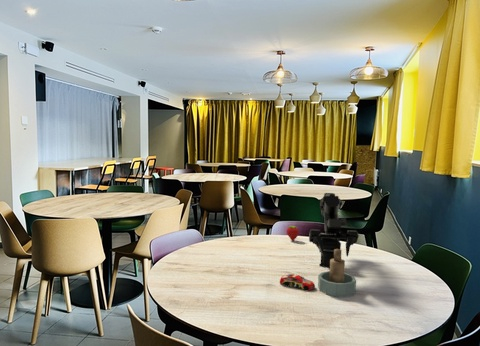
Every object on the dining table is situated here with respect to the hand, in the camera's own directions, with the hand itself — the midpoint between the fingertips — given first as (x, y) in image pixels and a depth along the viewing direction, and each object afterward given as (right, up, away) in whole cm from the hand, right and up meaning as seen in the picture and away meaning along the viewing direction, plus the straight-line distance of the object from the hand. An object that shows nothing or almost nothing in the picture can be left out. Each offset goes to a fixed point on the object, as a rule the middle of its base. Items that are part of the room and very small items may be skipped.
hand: (335, 255), depth 139 cm
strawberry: (-7, -6, +62) cm, 63 cm away
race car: (-15, -11, -3) cm, 19 cm away
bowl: (-1, -11, -6) cm, 13 cm away
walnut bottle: (-1, -10, -6) cm, 12 cm away
